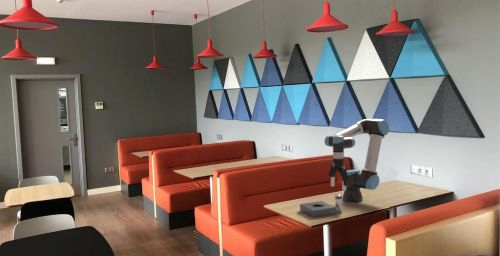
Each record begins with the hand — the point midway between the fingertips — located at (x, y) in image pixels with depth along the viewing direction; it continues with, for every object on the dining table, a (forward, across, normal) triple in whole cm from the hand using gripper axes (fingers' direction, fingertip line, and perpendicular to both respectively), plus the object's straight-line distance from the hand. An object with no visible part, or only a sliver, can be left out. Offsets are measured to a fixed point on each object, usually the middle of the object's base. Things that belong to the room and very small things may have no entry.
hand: (338, 188), depth 285 cm
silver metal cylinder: (+17, 0, 0) cm, 17 cm away
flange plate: (+17, -5, -14) cm, 22 cm away
